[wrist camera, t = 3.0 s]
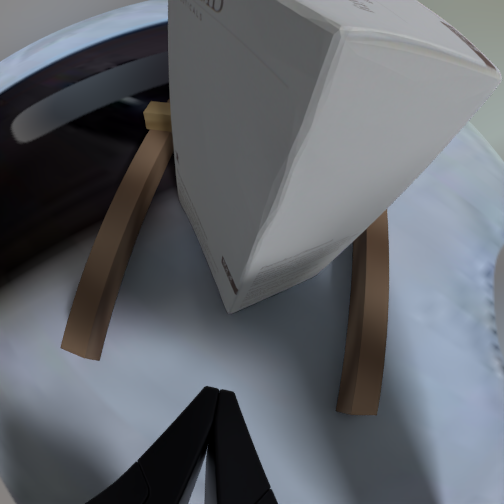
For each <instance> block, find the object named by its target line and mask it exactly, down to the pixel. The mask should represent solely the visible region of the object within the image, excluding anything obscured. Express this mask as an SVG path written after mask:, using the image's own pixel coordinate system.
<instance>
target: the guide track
mask: <svg viewBox="0 0 504 504" xmlns="http://www.w3.org/2000/svg"><path fill="white" fill-rule="evenodd" d="M143 113H144V118H145V123H146V128H147V129H150V130H149V132H148V134H147V135H146V137H145V139H144V141H143V142H142V144H141V146H140V148H139V149H138V151H137V153H136V155H135V157H134V159H133V160H132V162H131V164H130V166H129V168H128V170H127V172H126V174H125V176H124V178H123V180H122V182H121V184H120V186H119V188H118V190H117V192H116V194H115V196H114V198H113V200H112V203H111V205H110V207H109V209H108V211H107V214H106V216H105V218H104V220H103V223H102V225H101V227H100V230H99V232H98V235H97V237H96V239H95V242H94V244H93V247H92V250H91V252H90V255H89V257H88V260H87V263H86V265H85V268H84V271H83V274H82V277H81V280H80V282H79V285H78V288H77V291H76V295H75V298H74V301H73V304H72V307H71V311H70V314H69V318H68V321H67V325H66V328H65V332H64V336H63V340H62V344H61V348H62V349H64V350H66V351H68V352H71V353H73V354H76V355H78V356H80V357H83V358H86V359H92V360H98V361H100V357H101V353H102V349H103V345H104V341H105V337H106V333H107V329H108V326H109V322H110V318H111V315H112V311H113V308H114V305H115V301H116V298H117V295H118V291H119V288H120V285H121V282H122V279H123V276H124V273H125V270H126V267H127V264H128V261H129V258H130V255H131V253H132V250H133V247H134V244H135V242H136V239H137V236H138V234H139V231H140V228H141V226H142V223H143V221H144V218H145V215H146V213H147V210H148V208H149V206H150V203H151V201H152V198H153V196H154V194H155V191H156V189H157V187H158V184H159V182H160V180H161V177H162V175H163V173H164V171H165V169H166V166H167V164H168V162H169V160H170V158H171V156H172V153H173V151H174V146H173V136H172V124H171V109H170V98H169V100H168V101H167V103H164V102H152V101H151V102H150V103H149V105H148V106H147V108H146V109H145V111H144V112H143ZM388 302H389V239H388V218H387V209H386V210H385V211H384V212H383V213H382V214H381V215H380V216H379V217H378V218H377V219H376V220H375V221H374V222H373V223H372V224H371V225H370V226H369V227H368V228H367V229H366V230H365V231H364V232H363V233H362V234H360V235H359V236H358V237H357V238H356V239H355V240H354V241H353V262H352V280H351V295H350V307H349V318H348V328H347V337H346V346H345V354H344V362H343V369H342V376H341V383H340V389H339V395H338V401H337V407H336V411H338V412H342V413H346V414H350V415H377V411H378V405H379V399H380V392H381V385H382V377H383V369H384V360H385V350H386V338H387V323H388Z"/></svg>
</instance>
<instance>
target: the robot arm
mask: <svg viewBox="0 0 504 504" xmlns="http://www.w3.org/2000/svg"><path fill="white" fill-rule="evenodd" d="M207 447H208V449H207ZM206 452H207V456H206V475H205V502H204V504H278V502H277V500H276V498H275V496H274V493H273V491H272V489H270V484H269V482H268V479H267V477H266V475H265V472H264V470H263V467H262V465H261V462H260V460H259V457H258V455H257V452H256V450H255V447H254V445H253V442H252V439H251V437H250V434H249V431H248V429H247V426H246V423H245V421H244V418H243V415H242V413H241V410H240V407H239V404H238V401H237V399H236V396H235V393H234V392H232V391H228V390H223V389H221V390H220V391H219V389H218V388H214V387H209V386H206V387H204V388H203V389H202V390H201V392H200V393H199V394H198V395H197V396H196V397H195V398H194V399H193V401H192V402H191V403H190V404H189V405H188V406H187V407H186V409H185V410H184V411H183V412H182V413H181V414H180V415H179V416H178V417H177V419H176V420H175V421H174V422H173V423H172V424H171V425H170V426H169V427H168V428H167V429H166V431H165V432H164V433H163V434H162V435H161V436H160V437H159V438H158V439H157V440H156V441H155V442H154V443H153V445H152V446H151V447H150V448H149V449H148V450H147V451H146V452H145V453H144V454H143V455H142V456H141V457H140V458H139V459H138V462H135V463H134V464H133V465H132V466H131V467H130V468H129V469H128V470H127V471H126V472H125V473H124V474H123V475H122V476H121V477H120V478H119V479H118V480H116V481H115V482H114V483H113V484H112V485H110V486H109V487H108V488H106V489H105V490H104V491H102V492H101V493H100V494H98V495H97V496H95V497H94V498H92V499H91V500H89V501H88V502H86V503H85V504H188V502H189V500H190V497H191V494H192V492H193V489H194V486H195V483H196V481H197V478H198V475H199V472H200V470H201V467H202V464H203V461H204V458H205V455H206Z"/></svg>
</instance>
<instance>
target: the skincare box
mask: <svg viewBox="0 0 504 504" xmlns="http://www.w3.org/2000/svg"><path fill="white" fill-rule="evenodd" d="M168 58H169V89H170V109H171V124H172V136H173V146H174V158H175V168H176V180H177V189H178V197H179V201H180V203H181V205H182V207H183V209H184V211H185V212H186V214H187V217H188V219H189V221H190V223H191V225H192V227H193V230H194V232H195V234H196V236H197V238H198V241H199V243H200V246H201V248H202V250H203V253H204V255H205V257H206V260H207V262H208V265H209V267H210V270H211V272H212V275H213V277H214V280H215V282H216V285H217V287H218V290H219V292H220V295H221V298H222V301H223V304H224V306H225V309H226V311H227V312H228V314H232V313H234V312H237V311H239V310H241V309H243V308H246V307H248V306H250V305H253V304H255V303H257V302H259V301H262V300H264V299H266V298H268V297H271V296H273V295H275V294H277V293H280V292H282V291H284V290H286V289H288V288H291V287H293V286H295V285H297V284H299V283H301V282H303V281H306V280H308V279H310V278H312V277H314V276H316V275H317V274H318V273H320V272H321V271H322V270H323V269H324V268H325V267H326V266H327V265H328V264H329V263H331V262H332V261H333V260H334V259H335V258H336V257H337V256H338V255H339V254H340V253H341V252H342V251H343V250H345V249H346V248H347V247H348V246H349V245H350V244H351V243H352V242H353V241H354V240H355V239H356V238H357V237H358V236H359V235H360V234H362V233H363V232H364V231H365V230H366V229H367V228H368V227H369V226H370V225H371V224H372V223H373V222H374V221H375V220H376V219H377V218H378V217H379V216H380V215H381V214H382V213H383V212H384V211H385V210H386V209H387V208H388V207H389V206H390V205H391V204H392V203H393V202H394V201H395V200H396V199H397V198H398V197H399V196H400V195H401V194H402V193H403V192H404V191H405V190H406V189H407V188H408V187H409V186H410V185H411V184H412V183H413V182H414V181H415V179H416V178H417V177H418V176H419V175H420V174H421V173H422V172H423V171H424V170H425V169H426V168H427V167H428V166H429V165H430V164H431V163H432V161H433V160H434V159H435V158H436V157H437V156H438V155H439V154H440V153H441V152H442V151H443V149H444V148H445V147H446V146H447V145H448V144H449V143H450V142H451V141H452V139H453V138H454V137H455V136H456V135H457V134H458V133H459V131H460V130H461V129H462V128H463V127H464V126H465V125H466V123H467V122H468V121H469V120H470V119H471V118H472V116H473V115H474V114H475V113H476V112H477V111H478V109H479V108H480V107H481V106H482V105H483V104H484V102H485V101H486V100H487V99H488V98H489V96H490V95H491V94H492V93H493V91H494V90H495V89H496V87H497V86H498V85H499V84H500V82H501V80H502V76H501V73H500V71H499V70H498V68H497V67H496V66H495V65H494V64H493V63H492V62H491V61H490V60H489V59H488V58H487V57H486V56H485V55H484V54H483V53H482V52H481V51H479V49H478V48H476V47H475V46H474V45H473V44H472V43H471V42H470V41H469V40H468V39H466V37H464V36H463V35H462V34H461V33H460V32H459V31H458V30H456V29H455V28H454V27H453V26H451V25H450V24H449V23H448V22H446V21H445V20H444V19H442V18H441V17H440V16H438V15H437V14H435V13H434V12H433V11H431V10H430V9H429V8H427V7H426V6H424V5H422V4H421V3H419V2H418V1H417V0H168Z"/></svg>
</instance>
